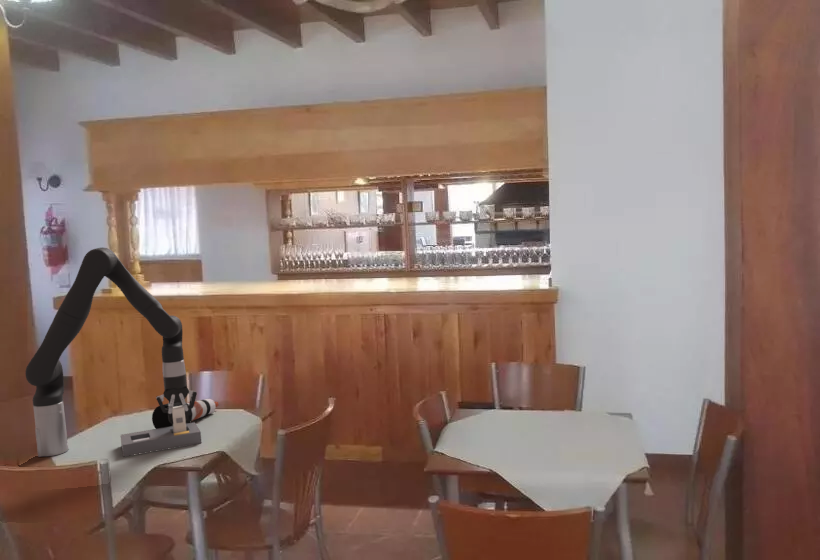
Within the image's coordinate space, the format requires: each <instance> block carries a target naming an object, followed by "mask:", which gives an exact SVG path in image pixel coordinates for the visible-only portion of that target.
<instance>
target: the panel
mask: <svg viewBox="0 0 820 560" xmlns="http://www.w3.org/2000/svg"><path fill="white" fill-rule="evenodd" d="M201 433H202V432H201V430H200V428H199V426H198V425H197V423H196V422H195V421H193V422H190V423H188V424H186V431H184V432H178V433H173V426H170V427H164V428H158V429H156V428H153V429H146V430H140V431H135V432H129V433H123V434H120V442H121V450H122V455H123V456H122V457H124V456H127V457H130V456H129V455H132V456H135V455H134V454H138V455H140V454H139V453H143V454H146V453H145V452H149V453H151V452H150V451H155V452H157V451H156V450H160V451H163V450H162V449H166V450H169V449H168V448H171V449H175V448H174V447H177V448H180V447H179V446H182V447H187V446H186V445H188V446H192V445H193V446H194V445H197V444H198V445H199V444H202V443H203V442H202V434H201Z"/></svg>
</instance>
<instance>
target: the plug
mask: <svg viewBox="0 0 820 560" xmlns="http://www.w3.org/2000/svg"><path fill="white" fill-rule="evenodd" d="M172 415H173V433H178V432H184V431H186V421H185V410H184V407H183V405H182V406H176V407H173V409H172Z"/></svg>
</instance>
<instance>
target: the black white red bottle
mask: <svg viewBox="0 0 820 560" xmlns="http://www.w3.org/2000/svg"><path fill="white" fill-rule="evenodd" d="M189 403H190V401H188V402H186V404H187V406H188V405H189ZM168 404H169V402H168V403H163V405H164V407H165V408H166V409H168ZM176 406H182V403H175V404H173V407H176ZM218 406H220V405H219V401H215V400H213V399H211V398H206V399H201V400H195V403H194V407H193V408H192V409H189V410H188V415H189V419H188V420H187V422H186V424H188V423H193V422H194V421H195V420H196V421H197V420H198V419H200V418H203V417H206V416H208V415H210V414H213V413H214V412H215V411H216V408H218ZM151 420H152V425H153V427H154V429H158V428H164V427H170V426H173V424H171V423H170V422H169V420H168V413H163V411H162V409H161V407H160V405H158V406H156V407H155V408H154V410H153V411H152V415H151Z"/></svg>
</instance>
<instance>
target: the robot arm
mask: <svg viewBox="0 0 820 560" xmlns="http://www.w3.org/2000/svg"><path fill="white" fill-rule="evenodd" d="M104 278H107V279H109V280H110V281H111V282H112V283H114V285H115V286H116V287H117V288H118V289H119V290H120V291H121V292H122V294H123V296H124V297H125V299H126V300H127V301H128V303H129V304H130V305H131V306H132V307H133V308H134V309H135V310H136V311H137V312H138V313H139V314H140V315H141V316H142V317H143V318H145V319H146V320H147V321H148V323H149V324H150V326H151V327H152V328H153V329H154V330H155V331H156V333H158V335H159V336H160V337H162V347H161V357H162V358H161V360H162V379H163V389H164V391H163V394H160V395H157V396H156V397H155V399H156V401H157V403H158V406H160V407H161V409H162V411H163V413H168V420H169V422H170V423H171V424H173V415H172V409H173V404H175V403H182V405H183V407H184V410H185V421H186V422H187V420H188V419H189V415H188V410H189V409H192V408H193V407H194V403H195V401H196V399H197V391H196V390H190V389H189V388H188V381H187V372H186V365H185V357H184V350H183V323H182V321H181V319H180V318H179V317H177V316H175V315H170V314H168V312H167V311H166V310H165V309H164V307H163V305H162V303H161V302H160V301H159V300H158V299H157V298H156V297H155V296H153V294H151V292H149V291H148V290H147V289H146V288H145V287H144V286H143V285H142V284H141V283H140V282H139V281H138V280H137V279H136V278H135V277H134V276H133V275H132V274H131V272H130V271H129V270H128V269H127V268H126V266H125V265H124V264H123V262H122V261H121V260H120V258H119V257H118V256H117V255H116V253H115V252H114V251H113V250H111V249H110V248H108V247H97V248H94V249H90V250H89V251H88V252H86V254H85V255H84V256H83V259H82V261H81V264H80V266H79V270H78V273H77V275H76V277H75V279H74V281H73V283H72V286H71V287H70V288H69V290H68V292H67V293H66V295H65V297H64V299H63V301H62V302H61V304H60V306H59V307H58V309H57V312H56V314H55V316H54V317H53V320H52V322H51V324H50V325H49V328H48V330H47V332H46V334H45V335H44V338H43V339H42V340H43V341H42V342H41V344H40V346H39V348H38V349H37V351H35V354H33V357H32V358H31V359H30V361H29V363H28V364H27V366H26V368H25V378H26V381H27V383H28V384H30V385H31V386H34V387H36V388H35V392H34V394H33V397H32V407H33V416H34V424H35V430H34V431H35V439H36V450H37V457H39V458H40V457H51V456H52V457H53V456H58V455H61V454H64V453H67V451H69V443H68V434H67V433H68V432H67V426H66V425H67V424H66V415H65V407H64V392H65V382H64V368H63V366H62V365H63V364H62V363H61V361H60V358H61V357H62V354H63V353H64V351H65V350H66V349H67V348H68V346H69V345H70V344H71V343H72V342H73V340H75V339H76V337H77V336H78V334H79V333H80V331H81V330H82V328H83V326H84V324H85V322H86V321H87V318H88V317H89V315H90V312H91V309H92V304H93V299H94V297H95V296H94V295H95V293H96V290H97V289H98V288H99V285H100V284H101V282H102V280H103V279H104ZM188 395H189V397H190V400H189V402H190V403H189V405H188V406H187V404H186V403H187V402H186V399H187V397H188ZM164 398H165V399H166V400H167V401H168V403H169V404H168V403H167V404H168V409H166V408H165V407H164V403H163V402H164V400H165V399H164Z"/></svg>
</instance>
